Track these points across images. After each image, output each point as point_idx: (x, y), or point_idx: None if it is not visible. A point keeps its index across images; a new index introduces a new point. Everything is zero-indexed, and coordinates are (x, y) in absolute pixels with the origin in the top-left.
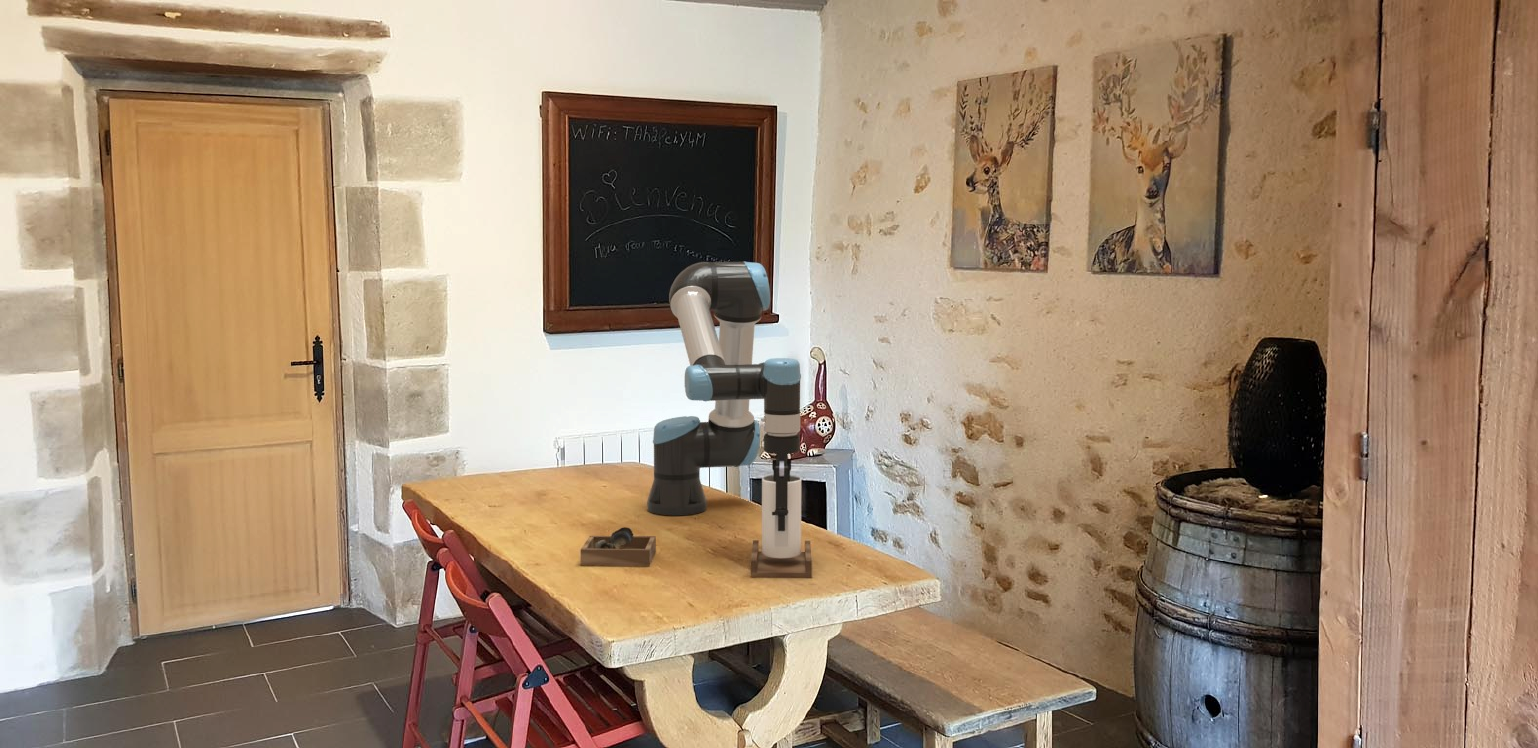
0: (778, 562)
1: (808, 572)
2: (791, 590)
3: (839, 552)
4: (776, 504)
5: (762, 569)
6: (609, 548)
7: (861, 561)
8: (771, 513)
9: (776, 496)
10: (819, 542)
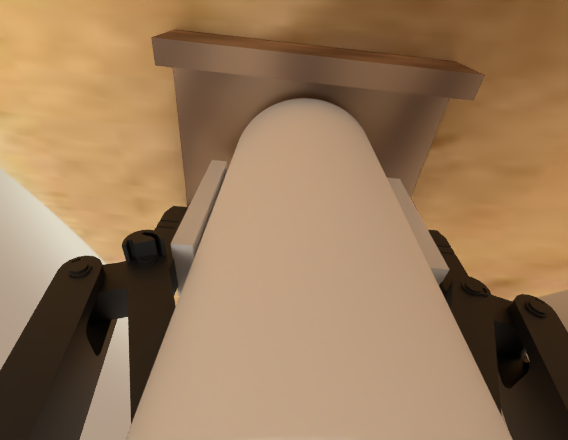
0: None
1: None
2: (69, 151)
3: None
4: (38, 312)
5: (212, 83)
6: None
7: None
8: (208, 230)
9: (5, 370)
10: (517, 264)
